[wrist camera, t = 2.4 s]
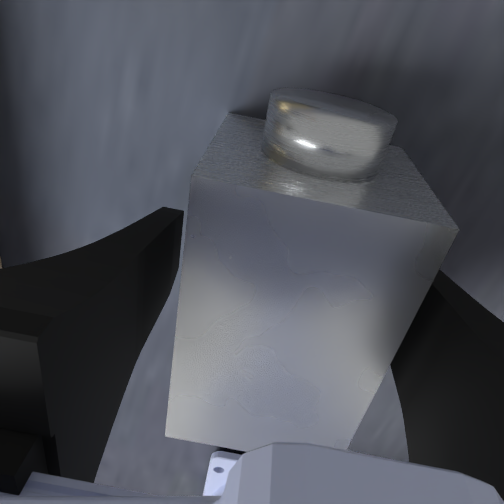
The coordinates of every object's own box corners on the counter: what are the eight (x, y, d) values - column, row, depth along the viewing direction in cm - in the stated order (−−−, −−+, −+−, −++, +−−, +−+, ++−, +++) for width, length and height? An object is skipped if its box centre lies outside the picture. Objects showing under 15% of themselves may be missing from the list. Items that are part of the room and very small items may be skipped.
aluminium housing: (325, 344, 16) (336, 468, 12) (199, 319, 16) (164, 436, 12) (416, 103, 11) (491, 167, 7) (235, 66, 11) (198, 108, 7)
